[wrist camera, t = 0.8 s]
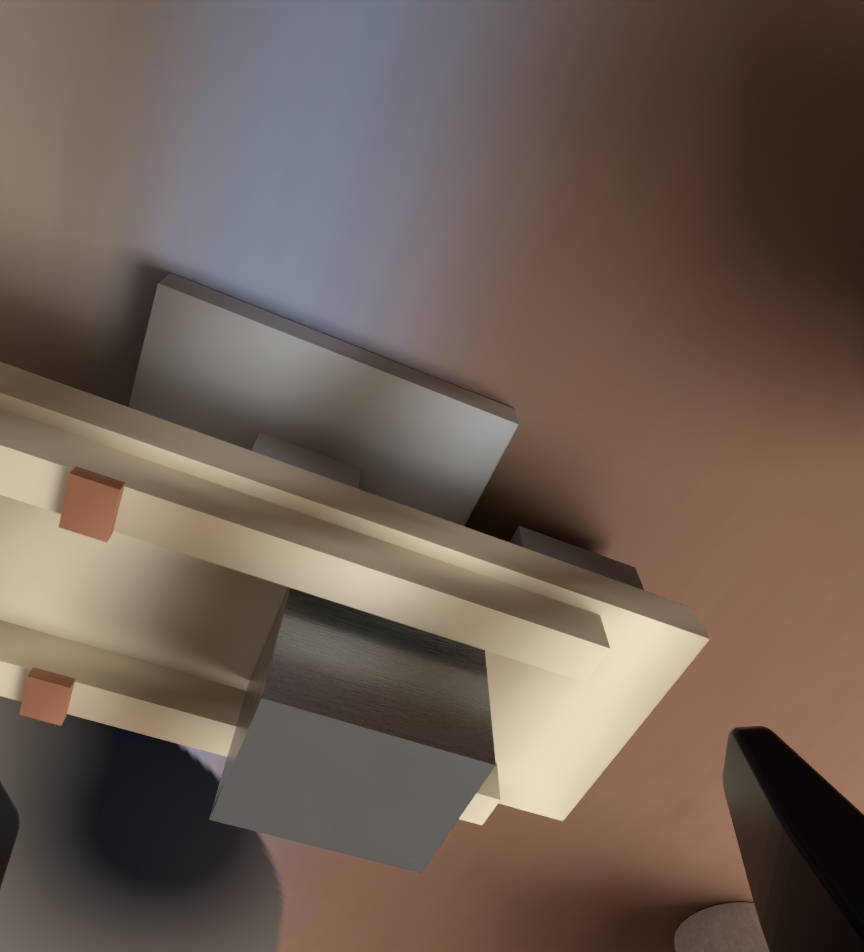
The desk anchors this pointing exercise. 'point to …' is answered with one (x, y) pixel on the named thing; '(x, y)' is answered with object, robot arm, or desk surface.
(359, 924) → the desk surface
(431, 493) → the balance beam
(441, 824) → the block
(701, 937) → the house plant
